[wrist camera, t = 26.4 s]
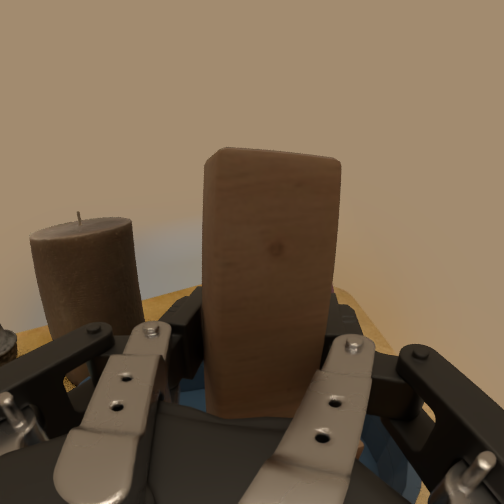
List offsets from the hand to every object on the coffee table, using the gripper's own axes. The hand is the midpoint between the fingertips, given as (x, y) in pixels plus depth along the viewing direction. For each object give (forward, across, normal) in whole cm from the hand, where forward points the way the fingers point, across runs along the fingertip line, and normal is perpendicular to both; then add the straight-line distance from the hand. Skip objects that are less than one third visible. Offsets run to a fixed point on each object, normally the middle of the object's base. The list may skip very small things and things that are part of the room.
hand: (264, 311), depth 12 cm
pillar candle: (+9, +17, +12) cm, 22 cm away
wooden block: (-3, -1, +9) cm, 10 cm away
